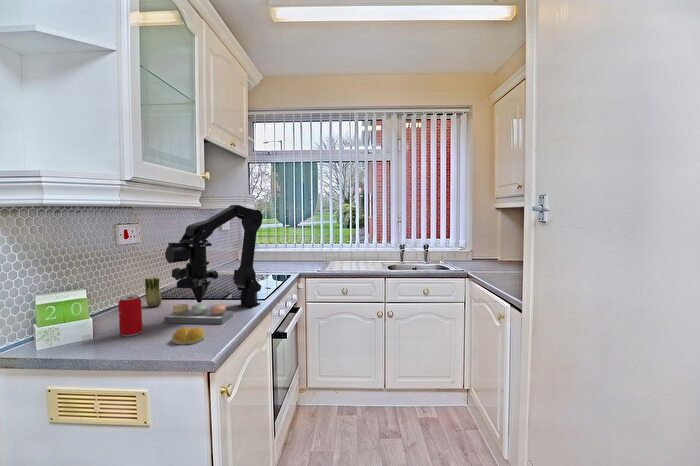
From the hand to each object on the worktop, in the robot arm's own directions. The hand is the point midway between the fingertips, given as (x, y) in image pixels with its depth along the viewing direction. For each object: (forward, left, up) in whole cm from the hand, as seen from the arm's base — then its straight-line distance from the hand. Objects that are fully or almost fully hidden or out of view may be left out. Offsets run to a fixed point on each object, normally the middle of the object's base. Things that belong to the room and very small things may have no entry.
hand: (199, 302), depth 128 cm
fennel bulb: (-5, -31, -6) cm, 32 cm away
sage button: (0, 0, -3) cm, 3 cm away
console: (0, 0, -6) cm, 6 cm away
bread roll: (+16, +13, -7) cm, 22 cm away
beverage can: (+20, -8, -6) cm, 23 cm away
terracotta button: (-2, +7, -3) cm, 8 cm away
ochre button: (+3, -7, -3) cm, 8 cm away
